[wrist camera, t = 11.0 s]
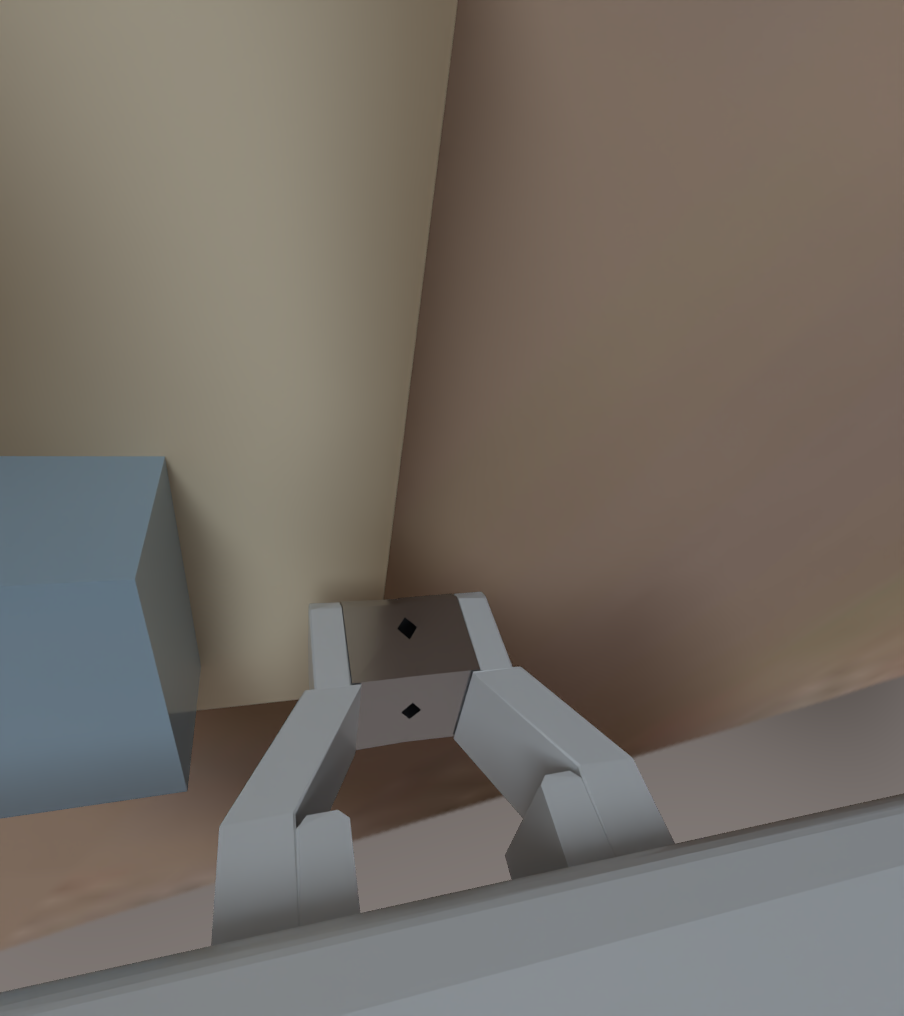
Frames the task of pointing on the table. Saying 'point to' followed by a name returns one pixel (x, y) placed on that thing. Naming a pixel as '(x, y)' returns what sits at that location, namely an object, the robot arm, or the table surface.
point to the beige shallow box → (225, 283)
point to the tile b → (92, 634)
